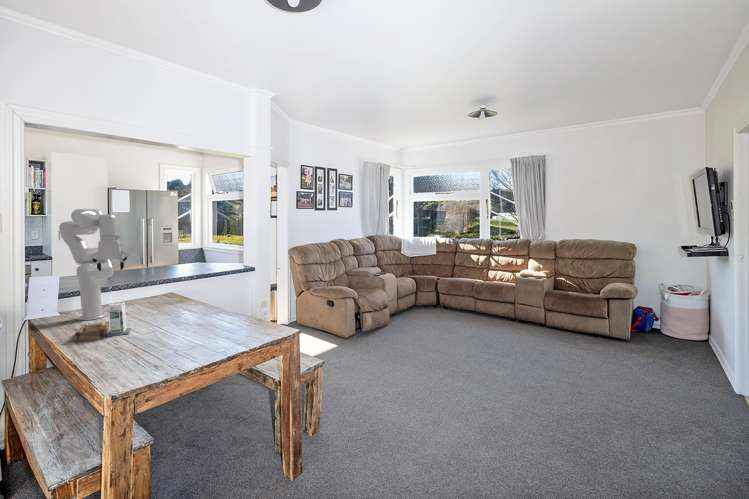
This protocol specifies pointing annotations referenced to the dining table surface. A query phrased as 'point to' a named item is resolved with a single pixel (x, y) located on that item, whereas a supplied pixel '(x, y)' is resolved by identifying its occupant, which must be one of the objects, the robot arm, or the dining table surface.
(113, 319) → the syrup box
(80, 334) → the rack
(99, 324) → the offcut upper
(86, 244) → the robot arm
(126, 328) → the mat
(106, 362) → the dining table surface
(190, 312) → the dining table surface
